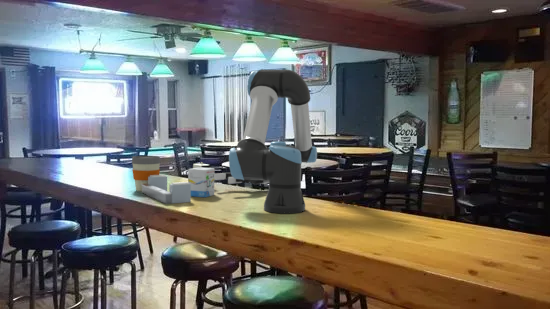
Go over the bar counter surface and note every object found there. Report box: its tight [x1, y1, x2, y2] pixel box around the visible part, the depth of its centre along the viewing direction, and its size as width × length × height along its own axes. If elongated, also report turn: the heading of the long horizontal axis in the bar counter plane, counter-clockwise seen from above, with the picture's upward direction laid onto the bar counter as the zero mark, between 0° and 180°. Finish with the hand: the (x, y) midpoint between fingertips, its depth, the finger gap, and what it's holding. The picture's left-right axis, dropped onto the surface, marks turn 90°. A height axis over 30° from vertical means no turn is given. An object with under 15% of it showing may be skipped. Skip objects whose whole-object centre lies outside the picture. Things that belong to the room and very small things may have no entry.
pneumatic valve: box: [192, 161, 212, 168], centre depth 239 cm, size 6×12×12 cm, turn 37°
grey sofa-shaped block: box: [148, 174, 192, 204], centre depth 210 cm, size 30×8×8 cm, turn 31°
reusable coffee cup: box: [131, 155, 161, 192], centre depth 228 cm, size 13×13×15 cm
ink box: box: [187, 167, 215, 198], centre depth 216 cm, size 8×8×12 cm
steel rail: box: [141, 184, 173, 205], centre depth 207 cm, size 30×3×4 cm, turn 31°
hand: (220, 178), depth 221 cm, fingers open, 13 cm apart
